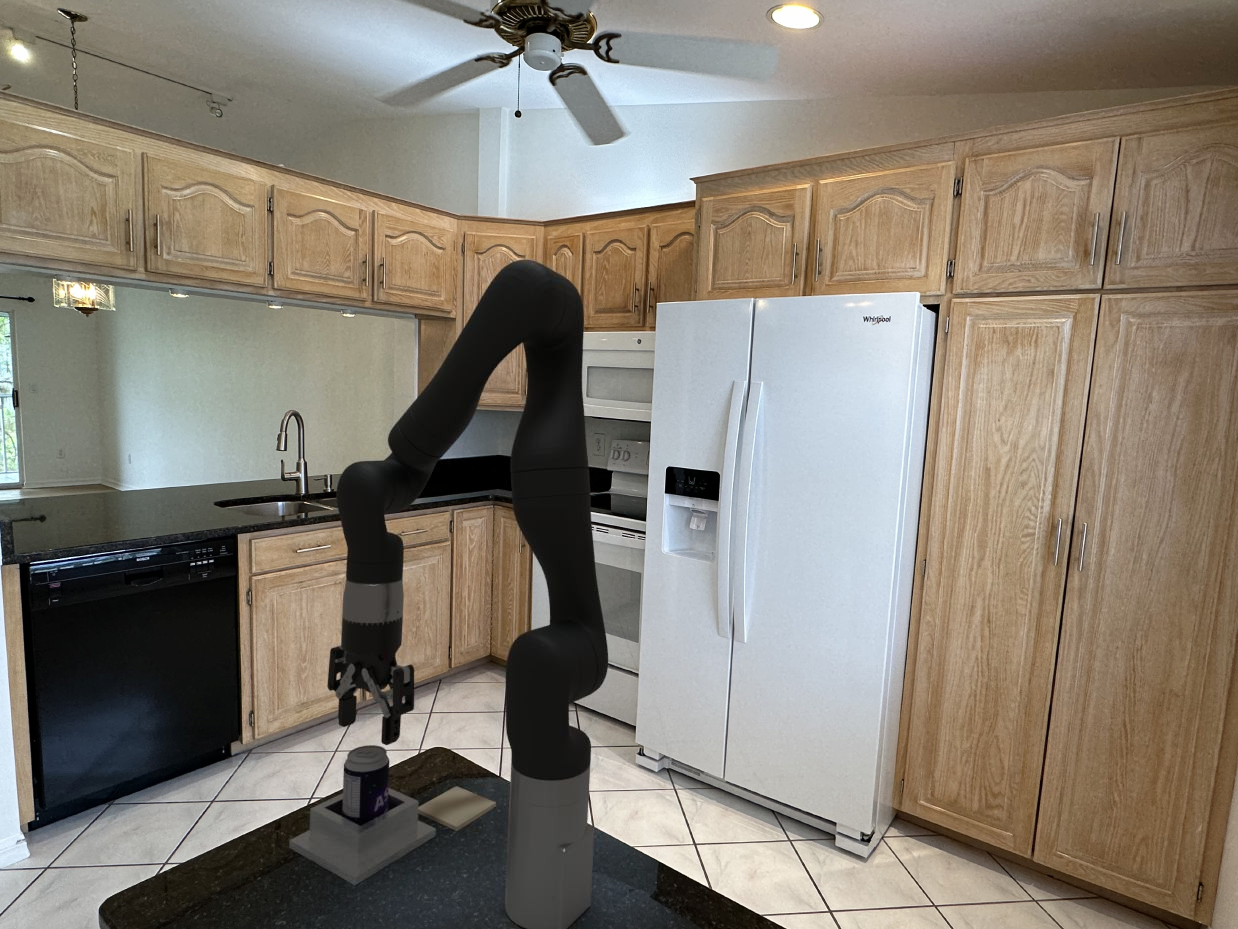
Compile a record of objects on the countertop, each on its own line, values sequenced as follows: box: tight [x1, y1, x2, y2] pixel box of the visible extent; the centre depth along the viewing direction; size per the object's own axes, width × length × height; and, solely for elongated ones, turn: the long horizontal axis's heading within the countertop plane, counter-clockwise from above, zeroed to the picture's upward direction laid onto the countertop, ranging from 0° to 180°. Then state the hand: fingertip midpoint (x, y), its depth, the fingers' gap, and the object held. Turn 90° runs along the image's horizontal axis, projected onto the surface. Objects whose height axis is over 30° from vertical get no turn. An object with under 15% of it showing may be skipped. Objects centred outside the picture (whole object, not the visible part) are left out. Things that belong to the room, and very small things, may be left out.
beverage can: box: [342, 744, 390, 826], centre depth 94 cm, size 6×6×12 cm
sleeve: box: [288, 787, 437, 886], centre depth 94 cm, size 13×13×5 cm
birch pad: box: [418, 785, 497, 832], centre depth 103 cm, size 8×8×1 cm
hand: (367, 733), depth 94 cm, fingers open, 8 cm apart
